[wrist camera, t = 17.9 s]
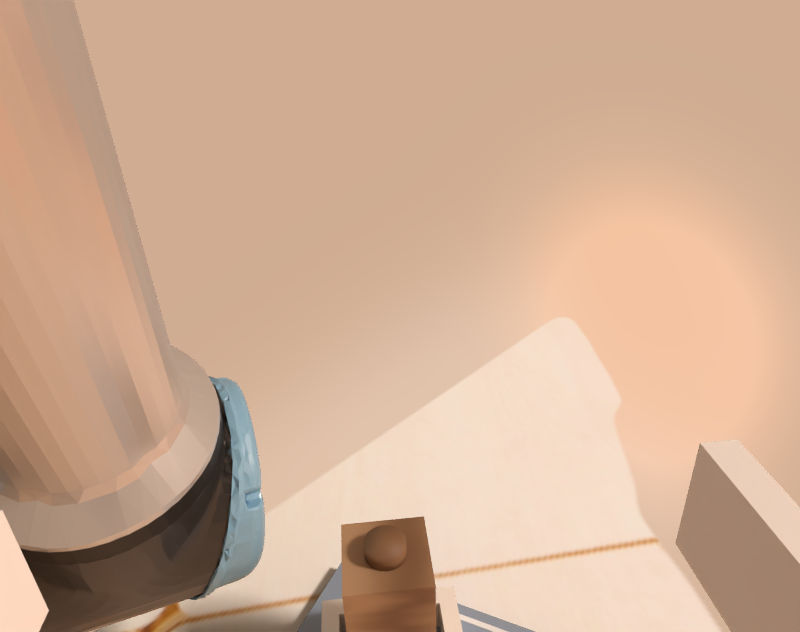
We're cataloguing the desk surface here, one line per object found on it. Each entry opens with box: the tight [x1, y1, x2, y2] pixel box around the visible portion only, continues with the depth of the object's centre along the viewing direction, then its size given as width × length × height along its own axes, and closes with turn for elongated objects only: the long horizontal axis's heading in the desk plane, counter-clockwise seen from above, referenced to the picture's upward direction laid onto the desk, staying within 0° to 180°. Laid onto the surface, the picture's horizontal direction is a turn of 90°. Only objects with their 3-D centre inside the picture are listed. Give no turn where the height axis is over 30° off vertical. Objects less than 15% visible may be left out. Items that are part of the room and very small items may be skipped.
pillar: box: [341, 517, 436, 632], centre depth 37 cm, size 5×5×13 cm
